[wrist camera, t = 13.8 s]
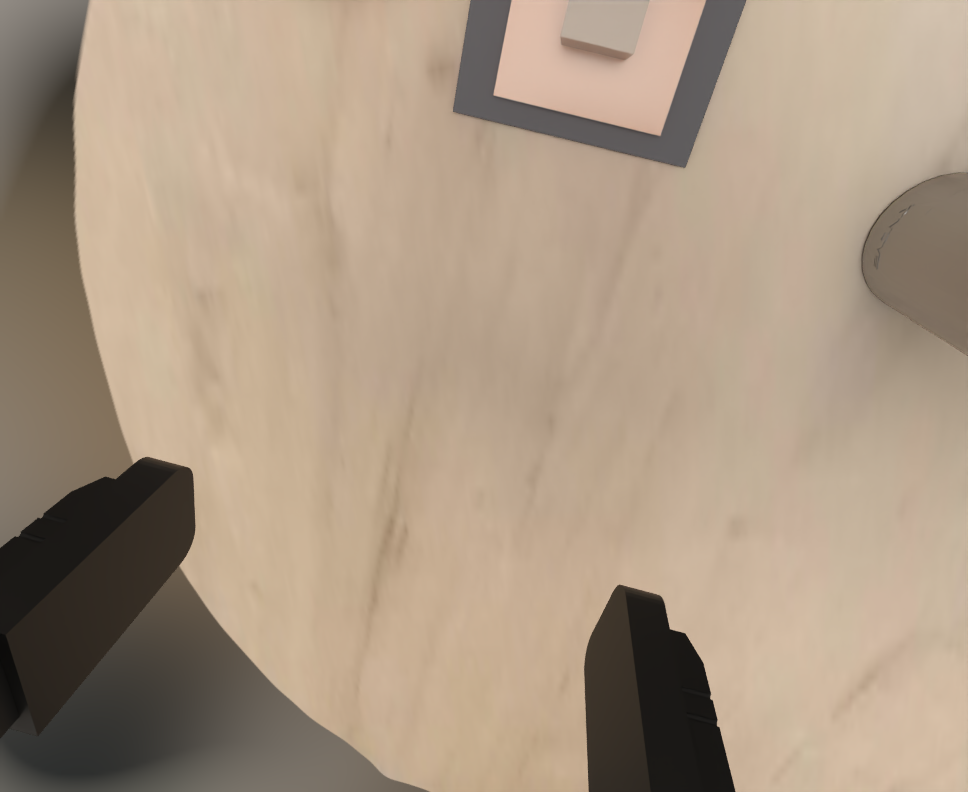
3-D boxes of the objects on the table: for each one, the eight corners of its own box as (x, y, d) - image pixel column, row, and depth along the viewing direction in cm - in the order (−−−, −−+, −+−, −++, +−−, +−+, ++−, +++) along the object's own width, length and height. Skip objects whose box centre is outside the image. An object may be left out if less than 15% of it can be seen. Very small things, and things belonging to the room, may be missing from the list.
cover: (729, -79, 30) (763, -116, 25) (658, 135, 36) (673, 141, 31) (537, -124, 31) (531, -171, 25) (495, 95, 36) (482, 94, 31)
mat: (764, -56, 31) (767, -58, 31) (683, 166, 37) (685, 167, 37) (491, -119, 31) (490, -123, 31) (454, 111, 37) (452, 111, 37)
